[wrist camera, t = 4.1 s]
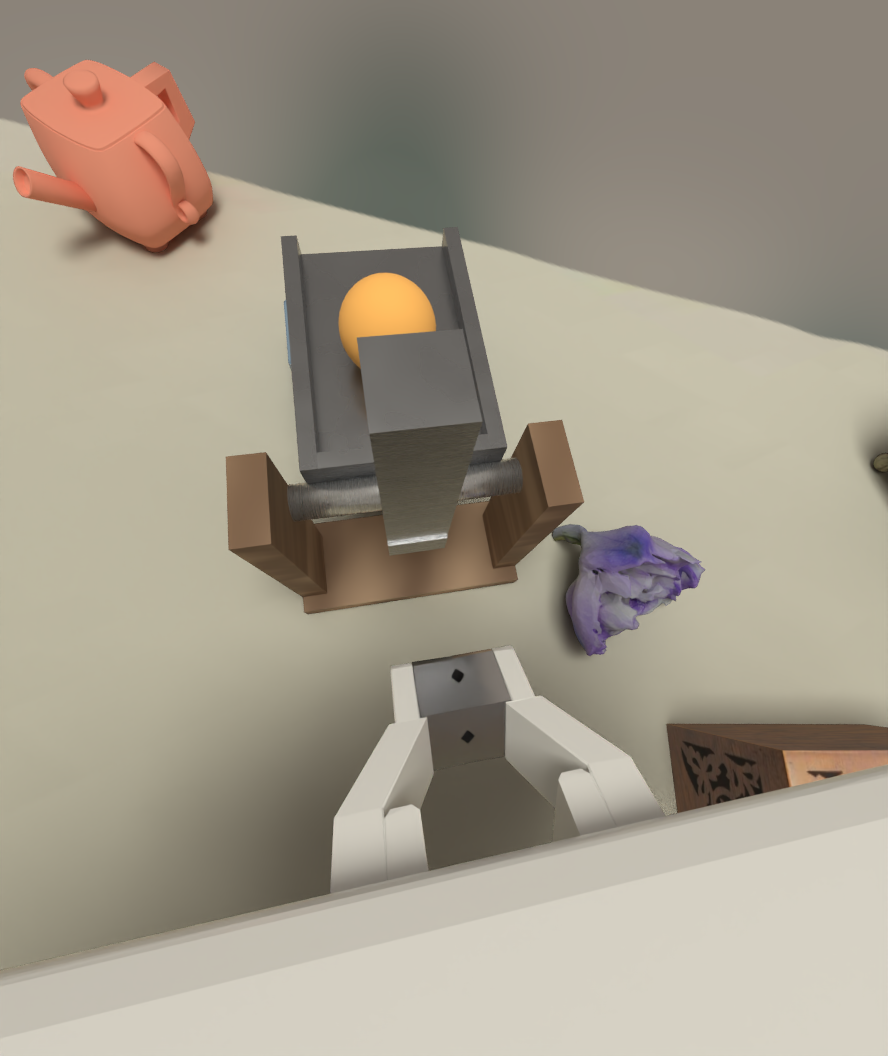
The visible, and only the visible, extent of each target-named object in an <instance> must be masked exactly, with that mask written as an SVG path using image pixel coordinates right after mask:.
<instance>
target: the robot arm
mask: <svg viewBox="0 0 888 1056" xmlns="http://www.w3.org/2000/svg"><path fill="white" fill-rule="evenodd" d="M412 667H413V668H412ZM390 672H391V684H392V695H393V706H394V718H395V723H393V724H389V725H388V726H387V728H386V730H385V732H384V733H383V735H382V737H381V738H380V740H379V742H378V744H377V745H376V747H375V749H374V750H373V752H372V754H371V756H370V757H369V759H368V761H367V762H366V764H365V766H364V768H363V769H362V771H361V773H360V775H359V776H358V778H357V780H356V781H355V783H354V785H353V787H352V788H351V790H350V792H349V793H348V795H347V797H346V799H345V800H344V802H343V804H342V805H341V807H340V809H339V811H338V812H337V814H336V816H335V818H334V825H333V845H332V865H331V886H330V894H327V895H322V896H318V897H314V898H309V899H305V900H301V901H296V902H292V903H288V904H283V905H279V906H275V907H271V908H266V909H262V910H258V911H253V912H249V913H245V914H240V915H236V916H232V917H227V918H223V919H219V920H214V921H210V922H206V923H201V924H197V925H193V926H189V927H184V928H180V929H176V930H171V931H167V932H163V933H158V934H154V935H150V936H145V937H141V938H137V939H132V940H128V941H124V942H120V943H115V944H111V945H107V946H102V947H98V948H94V949H89V950H85V951H81V952H76V953H72V954H68V955H63V956H59V957H55V958H50V959H46V960H42V961H38V962H33V963H29V964H25V965H20V966H16V967H12V968H7V969H3V970H0V1056H888V764H887V765H883V766H878V767H874V768H870V769H865V770H861V771H857V772H853V773H848V774H844V775H840V776H835V777H831V778H827V779H823V780H818V781H814V782H810V783H805V784H801V785H797V786H793V787H788V788H784V789H780V790H775V791H771V792H767V793H762V794H758V795H754V796H750V797H745V798H741V799H737V800H732V801H728V802H724V803H719V804H715V805H711V806H706V807H702V808H698V809H693V810H689V811H685V812H680V813H676V814H672V815H668V816H665V814H664V812H663V811H662V809H661V807H660V806H659V804H658V802H657V800H656V799H655V797H654V795H653V794H652V792H651V790H650V789H649V787H648V785H647V784H646V782H645V780H644V778H643V777H642V775H641V773H640V772H639V770H638V768H637V767H636V765H635V763H634V761H633V760H632V758H631V757H630V756H629V755H628V754H626V753H625V752H623V751H622V750H620V749H619V748H617V747H616V746H614V745H613V744H611V743H610V742H609V741H607V740H606V739H604V738H603V737H601V736H600V735H598V734H597V733H595V732H594V731H592V730H591V729H590V728H588V727H587V726H585V725H584V724H582V723H581V722H579V721H578V720H576V719H575V718H573V717H572V716H571V715H569V714H568V713H566V712H565V711H563V710H562V709H560V708H559V707H557V706H556V705H555V704H553V703H552V702H550V701H549V700H547V699H546V698H544V697H543V696H536V697H535V694H534V692H533V690H532V688H531V685H530V683H529V681H528V679H527V677H526V674H525V672H524V670H523V668H522V665H521V663H520V661H519V659H518V657H517V654H516V652H515V650H514V648H513V647H512V646H511V645H508V646H503V647H497V648H492V649H487V650H481V651H476V652H470V653H465V654H459V655H454V656H450V657H443V658H436V659H430V660H423V661H416V662H412V663H406V664H399V665H392V666H391V670H390ZM499 757H505V759H506V760H507V761H508V762H509V763H510V764H511V765H512V766H513V767H514V768H515V769H516V770H517V771H518V772H519V773H520V774H521V775H522V776H523V777H524V778H525V779H526V780H527V781H528V782H529V783H530V784H531V785H532V786H533V787H534V788H535V789H536V790H537V791H538V792H539V793H540V794H541V795H542V796H543V797H544V798H545V799H546V800H547V801H548V802H549V803H550V804H551V805H552V806H553V807H554V808H555V815H554V825H553V834H552V842H551V843H547V844H542V845H538V846H534V847H529V848H525V849H521V850H516V851H512V852H508V853H503V854H499V855H495V856H490V857H486V858H482V859H477V860H473V861H469V862H464V863H460V864H456V865H451V866H447V867H443V868H439V869H434V870H430V871H429V867H428V860H427V853H426V847H425V840H424V833H423V826H422V819H421V813H420V809H421V807H422V804H423V801H424V799H425V796H426V793H427V791H428V788H429V785H430V782H431V780H432V777H433V774H434V771H436V770H440V769H444V768H449V767H453V766H457V765H461V764H466V763H470V762H476V761H482V760H487V759H493V758H499Z"/></svg>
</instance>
